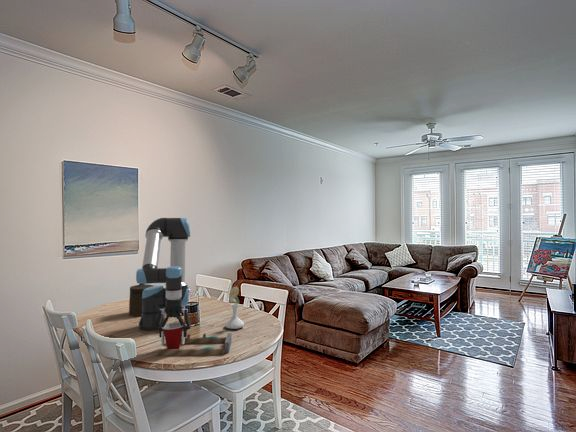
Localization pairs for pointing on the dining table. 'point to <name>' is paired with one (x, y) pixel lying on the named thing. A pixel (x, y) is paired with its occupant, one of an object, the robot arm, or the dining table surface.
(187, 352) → the comb channel
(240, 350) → the dining table surface
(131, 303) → the wooden container
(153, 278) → the robot arm
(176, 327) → the plastic cup
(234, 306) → the flower in vase
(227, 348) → the end stop
